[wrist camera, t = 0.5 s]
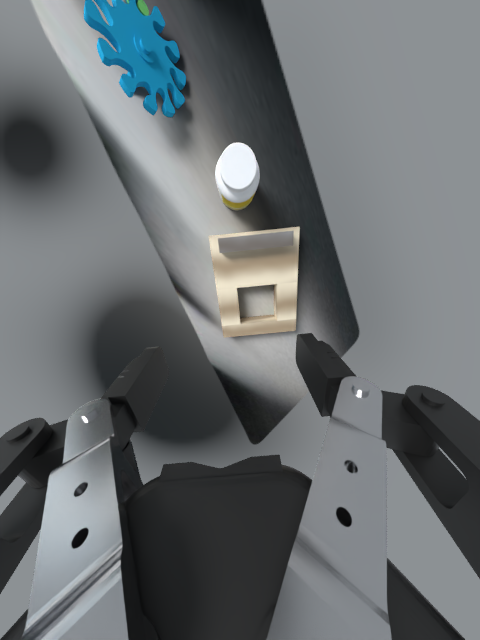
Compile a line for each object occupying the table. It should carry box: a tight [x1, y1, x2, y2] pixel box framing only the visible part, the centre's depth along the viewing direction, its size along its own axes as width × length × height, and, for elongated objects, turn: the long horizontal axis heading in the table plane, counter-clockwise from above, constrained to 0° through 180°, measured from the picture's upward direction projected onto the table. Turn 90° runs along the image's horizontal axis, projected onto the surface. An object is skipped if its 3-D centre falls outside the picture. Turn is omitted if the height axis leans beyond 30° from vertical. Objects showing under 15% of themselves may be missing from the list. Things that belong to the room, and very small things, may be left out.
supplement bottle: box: [215, 143, 260, 210], centre depth 23 cm, size 5×5×10 cm
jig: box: [209, 227, 300, 337], centre depth 32 cm, size 18×14×5 cm
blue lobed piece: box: [84, 0, 186, 117], centre depth 21 cm, size 11×6×10 cm
